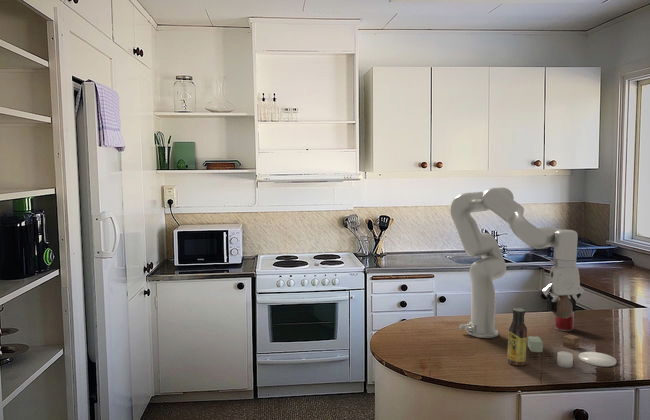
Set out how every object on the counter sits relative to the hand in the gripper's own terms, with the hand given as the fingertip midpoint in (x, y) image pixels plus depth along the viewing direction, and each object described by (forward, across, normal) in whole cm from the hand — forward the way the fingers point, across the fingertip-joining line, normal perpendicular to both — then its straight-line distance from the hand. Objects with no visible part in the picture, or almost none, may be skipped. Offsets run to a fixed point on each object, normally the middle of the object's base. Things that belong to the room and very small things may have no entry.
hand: (562, 310), depth 187 cm
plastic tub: (+17, -4, -9) cm, 19 cm away
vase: (+3, 0, 0) cm, 3 cm away
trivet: (+17, +10, -7) cm, 21 cm away
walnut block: (+17, +9, +7) cm, 21 cm away
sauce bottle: (+17, -20, -5) cm, 27 cm away
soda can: (+17, +19, +27) cm, 38 cm away
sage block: (+17, -6, +7) cm, 20 cm away
